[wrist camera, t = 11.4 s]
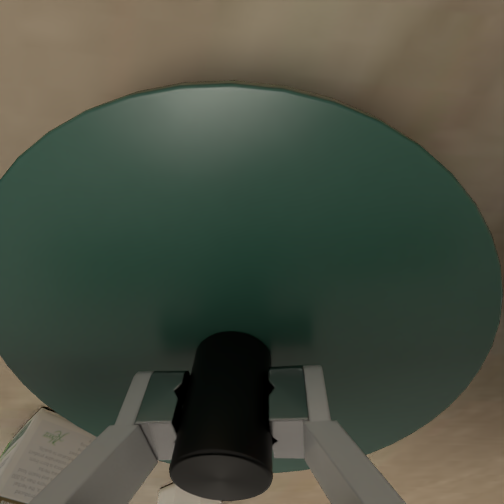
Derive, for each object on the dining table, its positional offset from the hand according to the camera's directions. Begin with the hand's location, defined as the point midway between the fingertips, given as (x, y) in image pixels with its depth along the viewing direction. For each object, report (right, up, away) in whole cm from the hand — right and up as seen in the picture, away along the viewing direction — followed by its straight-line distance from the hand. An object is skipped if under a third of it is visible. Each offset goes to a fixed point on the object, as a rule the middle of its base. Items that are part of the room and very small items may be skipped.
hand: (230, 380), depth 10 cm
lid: (0, +1, +1) cm, 1 cm away
